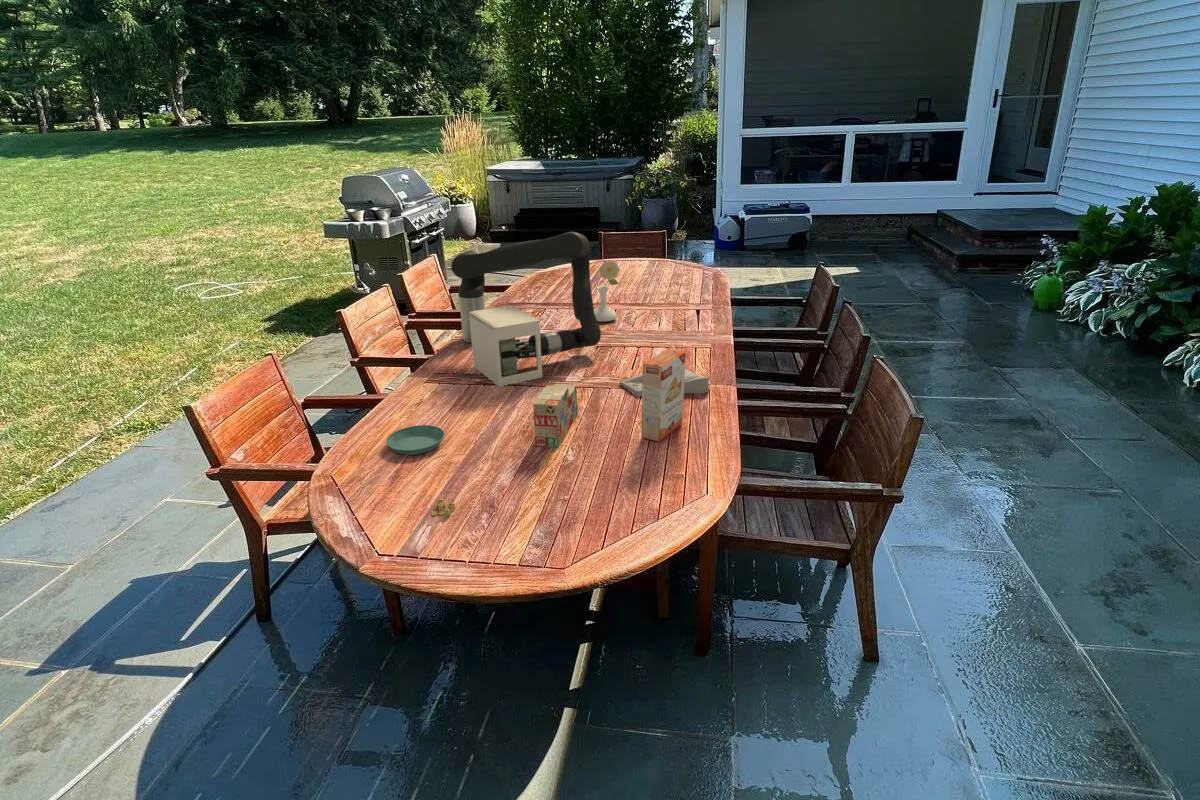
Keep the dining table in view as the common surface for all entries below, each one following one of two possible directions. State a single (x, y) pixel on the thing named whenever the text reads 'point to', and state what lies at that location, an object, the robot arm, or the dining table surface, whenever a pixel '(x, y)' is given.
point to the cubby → (501, 326)
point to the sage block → (508, 363)
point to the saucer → (415, 439)
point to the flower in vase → (607, 272)
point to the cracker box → (662, 394)
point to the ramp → (691, 383)
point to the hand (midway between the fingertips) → (498, 353)
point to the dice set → (442, 508)
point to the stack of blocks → (554, 414)
